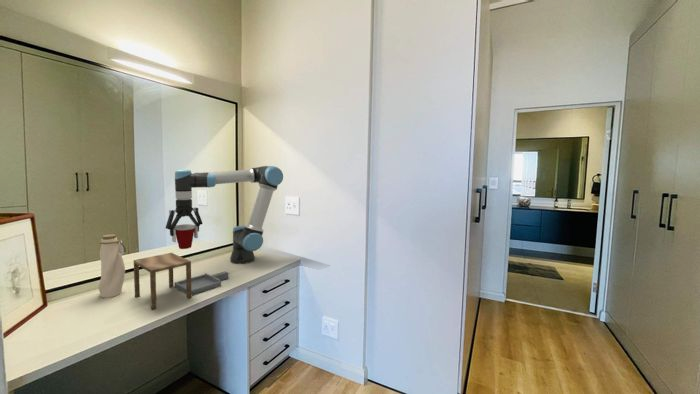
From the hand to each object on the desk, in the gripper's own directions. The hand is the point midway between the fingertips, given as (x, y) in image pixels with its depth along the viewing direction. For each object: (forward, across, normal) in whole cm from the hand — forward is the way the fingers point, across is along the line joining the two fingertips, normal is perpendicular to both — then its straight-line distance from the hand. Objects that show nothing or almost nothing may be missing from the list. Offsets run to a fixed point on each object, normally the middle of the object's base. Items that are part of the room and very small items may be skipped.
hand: (185, 239), depth 155 cm
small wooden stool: (+21, +18, +16) cm, 32 cm away
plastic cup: (+5, 0, 0) cm, 5 cm away
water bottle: (+21, +31, -5) cm, 38 cm away
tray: (+21, -2, +16) cm, 27 cm away
